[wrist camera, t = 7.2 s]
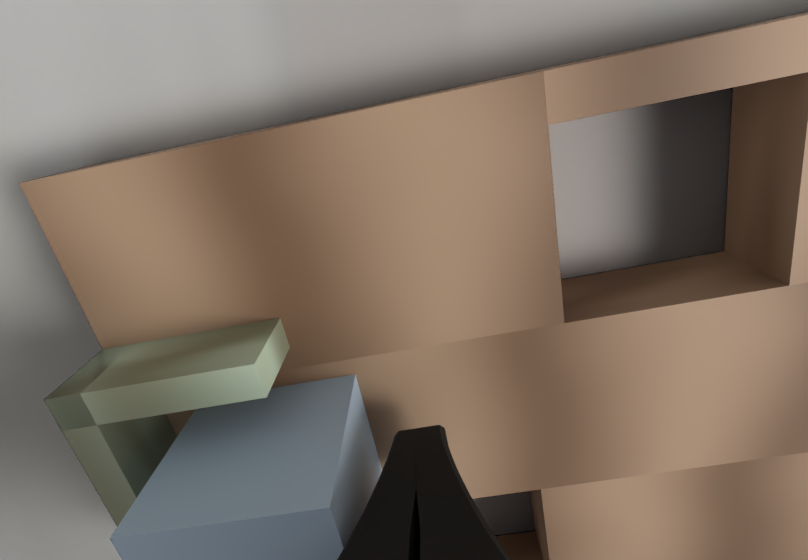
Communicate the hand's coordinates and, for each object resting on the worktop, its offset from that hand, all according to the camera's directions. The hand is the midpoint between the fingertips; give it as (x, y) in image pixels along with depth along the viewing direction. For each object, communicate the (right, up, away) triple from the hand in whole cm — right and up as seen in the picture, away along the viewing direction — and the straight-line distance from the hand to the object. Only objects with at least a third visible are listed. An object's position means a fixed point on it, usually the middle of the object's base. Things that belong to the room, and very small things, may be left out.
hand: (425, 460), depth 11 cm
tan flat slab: (+4, +2, +3) cm, 5 cm away
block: (-3, 0, +1) cm, 4 cm away
